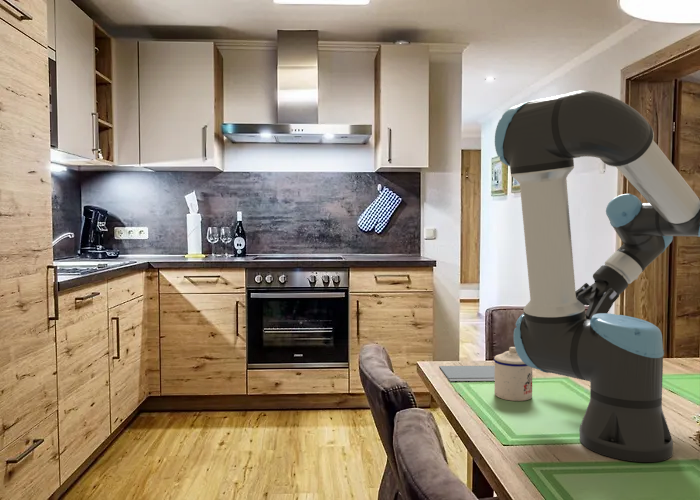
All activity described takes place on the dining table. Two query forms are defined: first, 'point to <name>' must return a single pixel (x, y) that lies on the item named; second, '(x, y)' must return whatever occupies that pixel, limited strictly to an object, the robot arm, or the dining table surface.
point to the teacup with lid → (512, 377)
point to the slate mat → (469, 372)
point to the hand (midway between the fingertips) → (553, 337)
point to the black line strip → (471, 380)
